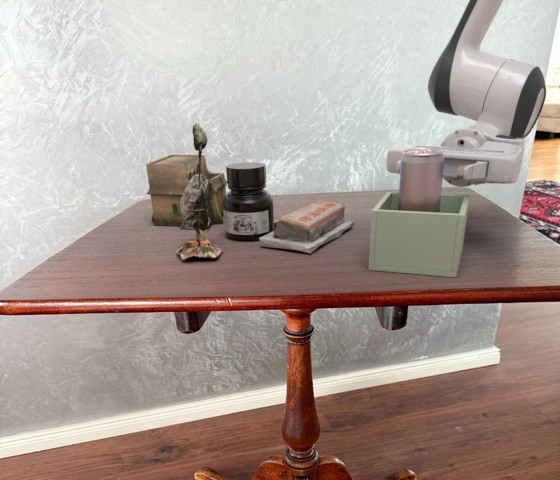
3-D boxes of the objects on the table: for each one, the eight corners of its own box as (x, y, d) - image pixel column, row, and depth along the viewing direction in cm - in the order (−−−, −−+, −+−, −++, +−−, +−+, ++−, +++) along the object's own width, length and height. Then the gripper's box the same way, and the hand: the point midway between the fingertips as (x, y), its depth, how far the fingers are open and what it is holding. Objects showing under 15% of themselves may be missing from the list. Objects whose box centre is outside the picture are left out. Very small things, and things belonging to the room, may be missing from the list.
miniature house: (141, 227, 106) (131, 166, 100) (170, 210, 117) (163, 154, 112) (213, 230, 102) (207, 166, 96) (236, 212, 114) (232, 154, 108)
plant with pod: (229, 242, 95) (220, 117, 85) (217, 263, 85) (205, 125, 75) (184, 243, 96) (169, 118, 86) (167, 263, 86) (148, 126, 76)
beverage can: (389, 251, 85) (394, 150, 78) (424, 246, 87) (432, 146, 79) (406, 263, 80) (413, 155, 73) (442, 257, 82) (453, 151, 74)
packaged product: (307, 196, 103) (355, 201, 99) (307, 222, 105) (354, 227, 101) (257, 219, 90) (310, 225, 85) (258, 247, 92) (310, 255, 88)
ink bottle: (216, 240, 97) (209, 169, 91) (233, 227, 104) (228, 160, 98) (268, 243, 94) (265, 170, 88) (281, 229, 102) (279, 161, 96)
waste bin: (462, 251, 87) (470, 195, 83) (456, 277, 77) (464, 215, 72) (383, 245, 91) (387, 191, 87) (368, 270, 81) (371, 210, 76)
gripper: (409, 132, 92) (368, 143, 82) (535, 139, 81) (504, 152, 71) (406, 171, 95) (366, 186, 86) (527, 183, 84) (496, 200, 75)
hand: (430, 170), depth 78 cm, fingers open, 8 cm apart
